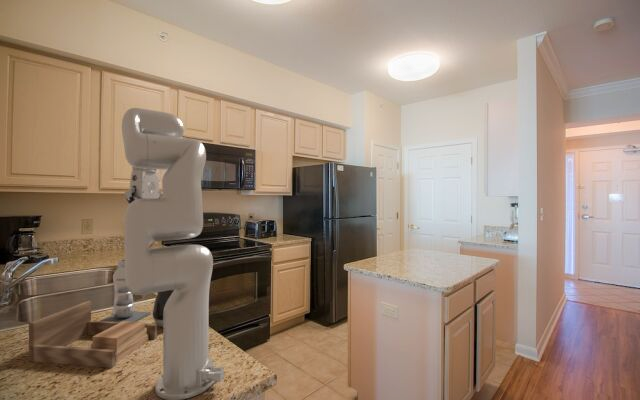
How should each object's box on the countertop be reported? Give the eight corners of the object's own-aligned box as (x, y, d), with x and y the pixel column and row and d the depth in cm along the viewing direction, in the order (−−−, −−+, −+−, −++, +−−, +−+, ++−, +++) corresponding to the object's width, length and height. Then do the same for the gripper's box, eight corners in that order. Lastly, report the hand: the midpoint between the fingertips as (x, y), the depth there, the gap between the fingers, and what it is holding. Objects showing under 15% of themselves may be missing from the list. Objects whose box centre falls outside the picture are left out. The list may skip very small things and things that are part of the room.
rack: (156, 337, 93) (156, 304, 93) (112, 367, 76) (112, 327, 76) (86, 332, 96) (86, 301, 96) (28, 361, 80) (28, 322, 80)
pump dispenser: (165, 333, 96) (165, 285, 96) (146, 326, 101) (146, 280, 101) (193, 322, 105) (193, 278, 105) (174, 316, 110) (174, 274, 110)
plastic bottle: (122, 321, 104) (122, 262, 104) (108, 319, 106) (107, 261, 106) (139, 315, 110) (139, 259, 110) (125, 312, 112) (125, 258, 112)
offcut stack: (148, 341, 91) (148, 320, 91) (116, 362, 79) (116, 339, 79) (123, 339, 92) (123, 319, 92) (88, 360, 80) (88, 337, 80)
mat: (150, 313, 113) (150, 312, 113) (125, 327, 101) (125, 325, 101) (121, 312, 114) (121, 310, 114) (93, 325, 102) (93, 323, 102)
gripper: (136, 165, 102) (136, 216, 102) (168, 170, 119) (168, 214, 119) (116, 165, 103) (116, 216, 103) (151, 170, 120) (151, 214, 120)
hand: (144, 215), depth 111 cm, fingers open, 9 cm apart
